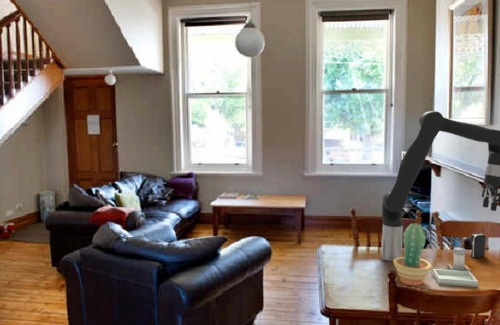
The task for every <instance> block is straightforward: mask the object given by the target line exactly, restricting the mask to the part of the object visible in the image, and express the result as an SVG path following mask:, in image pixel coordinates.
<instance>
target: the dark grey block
mask: <svg viewBox="0 0 500 325" xmlns="http://www.w3.org/2000/svg"><path fill="white" fill-rule="evenodd" d="M469 240H470V242H469V244H470V245H471V249H472V250H471V253H470V257H472V258H476V259H477V258H483V257H485V256H486V245H487V244H486V242H487V236H486V235H485V234H483V233H473V234H471V235H470V238H469Z"/></svg>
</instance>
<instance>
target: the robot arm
mask: <svg viewBox="0 0 500 325" xmlns="http://www.w3.org/2000/svg"><path fill="white" fill-rule="evenodd" d="M418 122H419V125H420V126H421V127H420V130H419V131H418V134H417V136H416V138H415V140H414V141H413V142H412V143H411V145H410V146H409V147H408V149H407V150H406V152H405V154H404V156H403V157H402V160H401V162H400V165H399V167H398V173H397V177H396V181H395V183H394V186H393V188H392V189H391V190H389V191H387V192H385V194H384V195H383V197H382V212H381V214H382V217H381V218H382V237H381V249H380V250H381V251H380V252H381V255H380V256H381V259H382V260H385V261H388V262H394V261H393V260H394V259H396V258H398V257H403V255H402V252H403V250H402V249H403V228H404V227H403V226H404V223H403V222H404V220H403V219H404V218H403V209H404V207H405V205H406V202H407V199H408V196H409V193H410V192H411V189H412V186H413V185H414V183H415V181H416V180H417V177H418V175H419V173H420V172H421V169H422V168H423V165H424V163H425V160H426V158H427V156H428V153H429V152H430V149H431V148H432V144H433V142H434V141H435V139H436V137H437V136H438V134H439V132H443V133H447V134H452V135H454V136H458V137H461V138H464V139H467V140H471V141H475V142H480V143H486V144H487V145H488V146H487V147H488V158H487V163H486V167H485V172H484V179H483V183H484V184H483V188H482V192H481V198H483V201H482V207H483V208H486V209H487V208H489V204H490V211H493V212H496V211H497V208H498V204H499V203H500V188H499V187H500V130H498V129H492V128H488V127H485V126H481V125H477V124H473V123H469V122H463V121H457V120H453V119H450V118H447V117H444V116H443V114H442V113H440V111H435V110H431V111H426V112H424V113H422V115H420V118H419V120H418ZM490 200H491V203H490Z"/></svg>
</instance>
